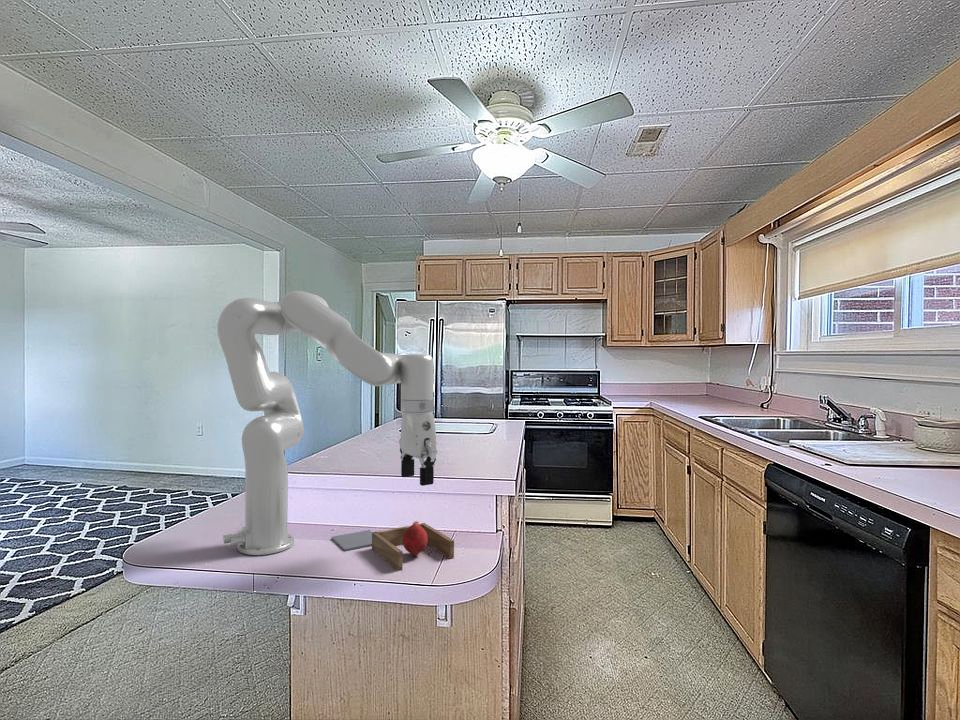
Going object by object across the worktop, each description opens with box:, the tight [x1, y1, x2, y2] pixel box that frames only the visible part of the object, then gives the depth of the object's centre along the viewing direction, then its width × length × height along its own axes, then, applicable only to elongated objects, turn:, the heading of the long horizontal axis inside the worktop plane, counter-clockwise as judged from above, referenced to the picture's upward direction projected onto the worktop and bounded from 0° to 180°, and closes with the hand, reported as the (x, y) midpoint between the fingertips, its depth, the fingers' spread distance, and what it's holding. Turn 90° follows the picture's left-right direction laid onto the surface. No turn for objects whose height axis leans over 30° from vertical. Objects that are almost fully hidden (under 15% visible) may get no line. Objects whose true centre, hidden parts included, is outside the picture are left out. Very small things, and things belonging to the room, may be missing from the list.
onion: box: [403, 520, 428, 557], centre depth 122 cm, size 6×6×8 cm
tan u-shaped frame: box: [371, 522, 455, 572], centre depth 123 cm, size 14×15×4 cm
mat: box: [331, 529, 373, 552], centre depth 131 cm, size 10×10×1 cm
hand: (416, 480), depth 122 cm, fingers open, 9 cm apart
